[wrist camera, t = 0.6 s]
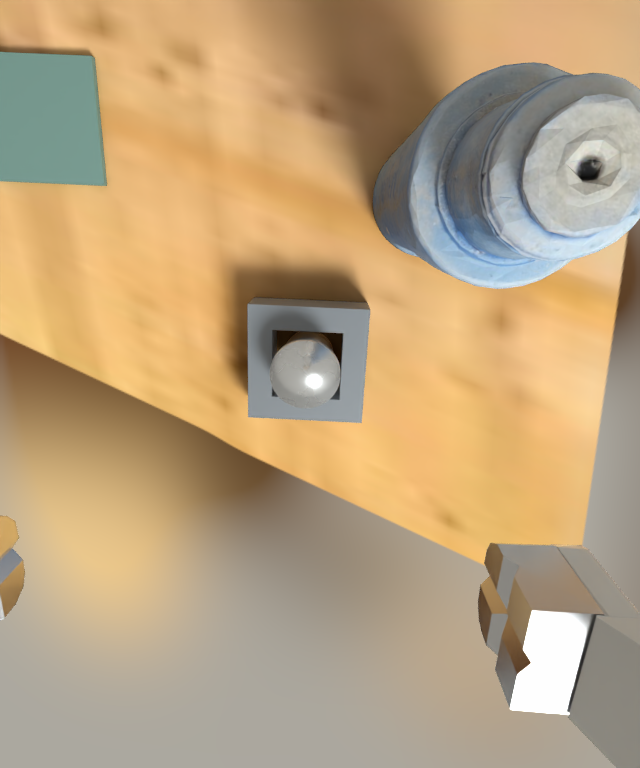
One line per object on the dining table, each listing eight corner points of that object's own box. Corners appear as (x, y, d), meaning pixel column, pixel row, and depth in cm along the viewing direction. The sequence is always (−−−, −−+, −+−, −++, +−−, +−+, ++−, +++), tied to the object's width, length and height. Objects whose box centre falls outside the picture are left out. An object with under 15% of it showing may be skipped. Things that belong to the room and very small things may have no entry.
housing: (254, 297, 47) (247, 304, 43) (367, 302, 46) (370, 309, 43) (254, 402, 50) (248, 417, 46) (359, 407, 50) (361, 422, 46)
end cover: (278, 322, 47) (269, 339, 41) (341, 325, 47) (342, 342, 41) (277, 381, 49) (269, 406, 43) (337, 384, 49) (338, 410, 43)
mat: (-23, 53, 40) (-28, 50, 40) (94, 58, 40) (91, 55, 40) (-2, 180, 44) (-6, 180, 43) (106, 185, 44) (104, 185, 43)
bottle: (487, 144, 42) (816, -17, 13) (467, 260, 45) (697, 329, 16) (378, 135, 42) (474, -45, 13) (366, 251, 45) (422, 306, 16)
